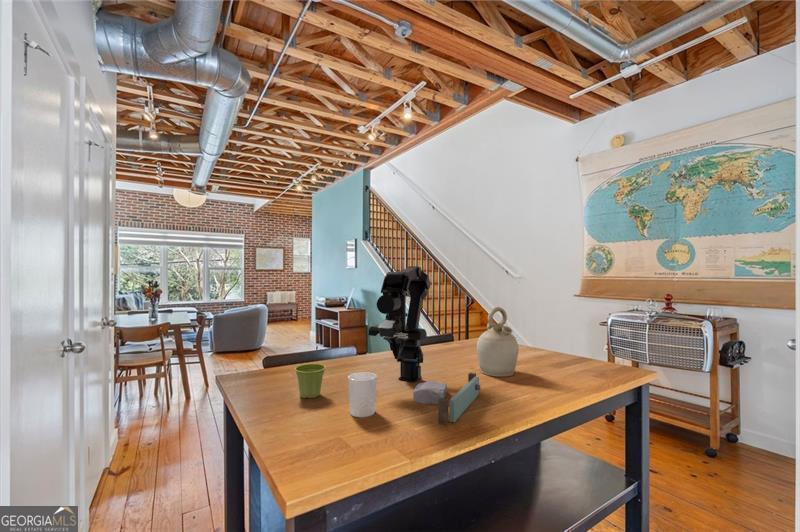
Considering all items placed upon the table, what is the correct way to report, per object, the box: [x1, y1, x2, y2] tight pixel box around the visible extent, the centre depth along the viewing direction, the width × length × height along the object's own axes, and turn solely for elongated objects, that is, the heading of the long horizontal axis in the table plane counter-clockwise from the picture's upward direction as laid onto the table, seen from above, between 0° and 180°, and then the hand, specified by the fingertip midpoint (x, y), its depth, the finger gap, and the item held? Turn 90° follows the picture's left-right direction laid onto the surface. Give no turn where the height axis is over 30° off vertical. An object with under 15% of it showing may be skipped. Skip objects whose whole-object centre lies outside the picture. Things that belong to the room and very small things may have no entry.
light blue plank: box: [437, 372, 477, 426], centre depth 104 cm, size 2×28×6 cm, turn 153°
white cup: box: [347, 371, 378, 418], centre depth 99 cm, size 8×8×10 cm
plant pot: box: [294, 363, 327, 399], centre depth 113 cm, size 9×9×9 cm
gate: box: [449, 375, 481, 423], centre depth 103 cm, size 2×23×6 cm, turn 152°
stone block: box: [412, 380, 448, 405], centre depth 112 cm, size 12×5×10 cm
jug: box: [476, 306, 520, 378], centre depth 139 cm, size 15×16×25 cm
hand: (396, 358), depth 117 cm, fingers closed
